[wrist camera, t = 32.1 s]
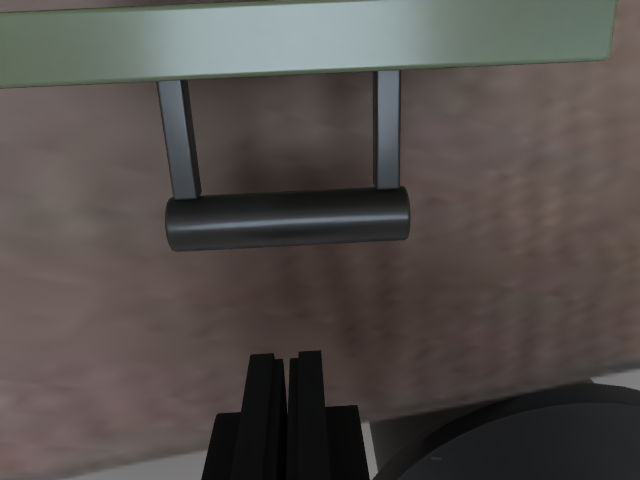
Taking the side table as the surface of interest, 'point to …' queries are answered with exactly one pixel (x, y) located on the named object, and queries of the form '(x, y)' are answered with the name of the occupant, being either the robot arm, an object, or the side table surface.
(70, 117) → the side table surface
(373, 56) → the drawer
